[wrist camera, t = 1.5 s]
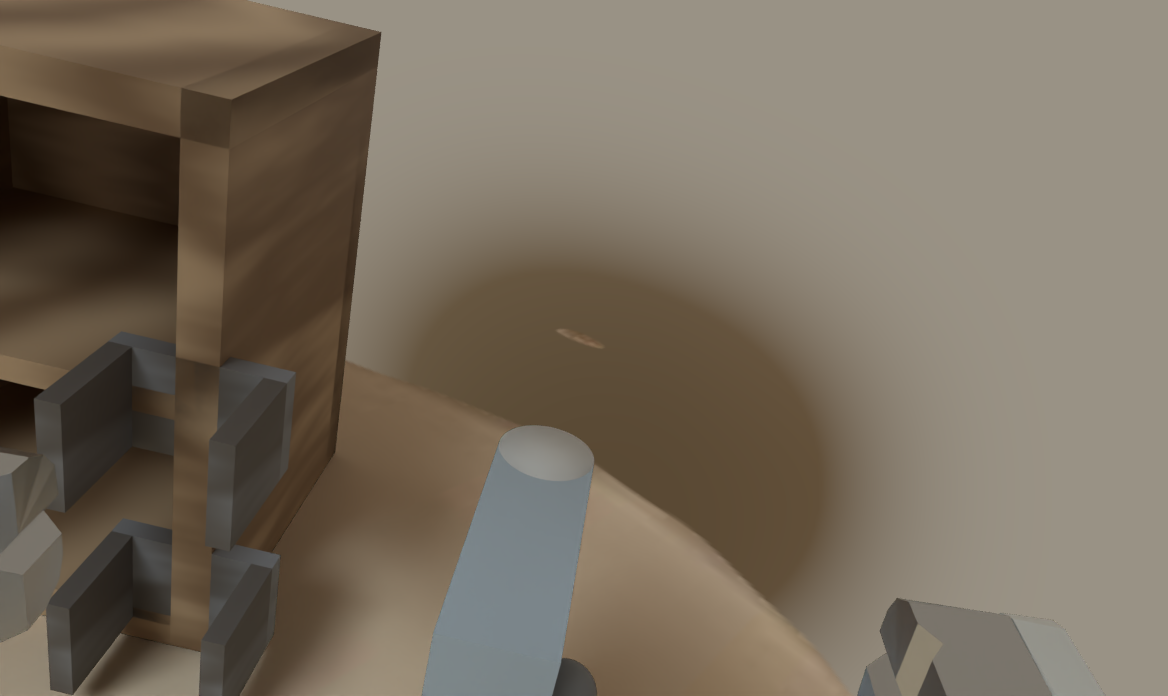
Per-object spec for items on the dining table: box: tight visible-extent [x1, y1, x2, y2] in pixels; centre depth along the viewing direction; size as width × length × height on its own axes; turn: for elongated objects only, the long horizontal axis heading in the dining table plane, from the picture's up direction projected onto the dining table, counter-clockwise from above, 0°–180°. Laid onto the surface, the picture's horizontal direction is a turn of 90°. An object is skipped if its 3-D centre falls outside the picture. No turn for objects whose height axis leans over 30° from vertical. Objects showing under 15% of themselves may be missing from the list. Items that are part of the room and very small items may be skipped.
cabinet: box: [0, 0, 381, 696], centre depth 37 cm, size 20×19×22 cm
